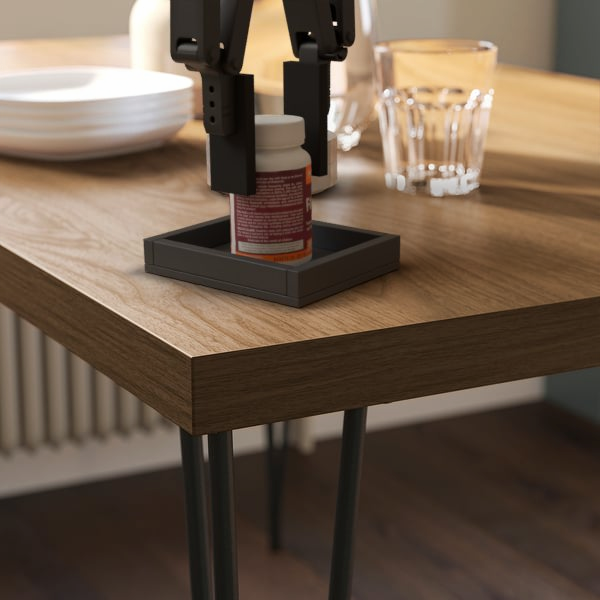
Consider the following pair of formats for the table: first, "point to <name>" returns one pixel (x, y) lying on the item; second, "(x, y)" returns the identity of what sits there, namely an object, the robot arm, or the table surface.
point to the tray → (270, 275)
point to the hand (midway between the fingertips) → (270, 181)
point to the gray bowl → (317, 182)
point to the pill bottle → (276, 196)
